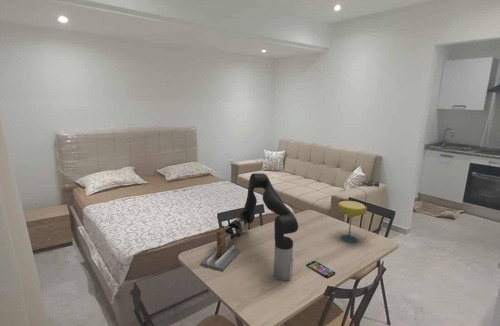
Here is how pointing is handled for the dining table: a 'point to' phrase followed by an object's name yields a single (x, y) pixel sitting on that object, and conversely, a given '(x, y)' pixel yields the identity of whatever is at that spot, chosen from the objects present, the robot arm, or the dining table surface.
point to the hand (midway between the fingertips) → (224, 236)
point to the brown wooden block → (221, 242)
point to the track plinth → (221, 259)
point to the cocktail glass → (351, 214)
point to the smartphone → (320, 269)
